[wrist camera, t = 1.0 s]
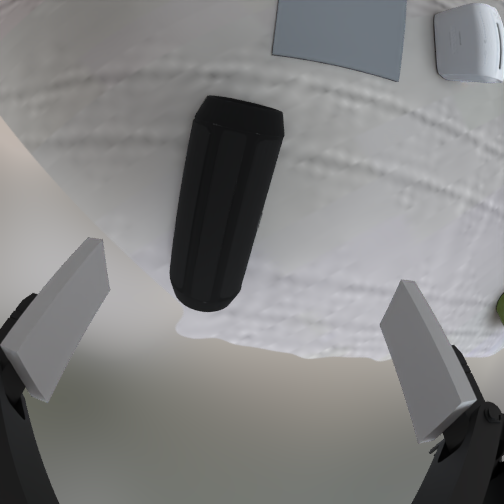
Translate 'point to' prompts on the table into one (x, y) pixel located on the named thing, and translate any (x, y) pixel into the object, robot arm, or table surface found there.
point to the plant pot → (501, 308)
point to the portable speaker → (222, 199)
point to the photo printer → (470, 44)
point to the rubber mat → (343, 33)
